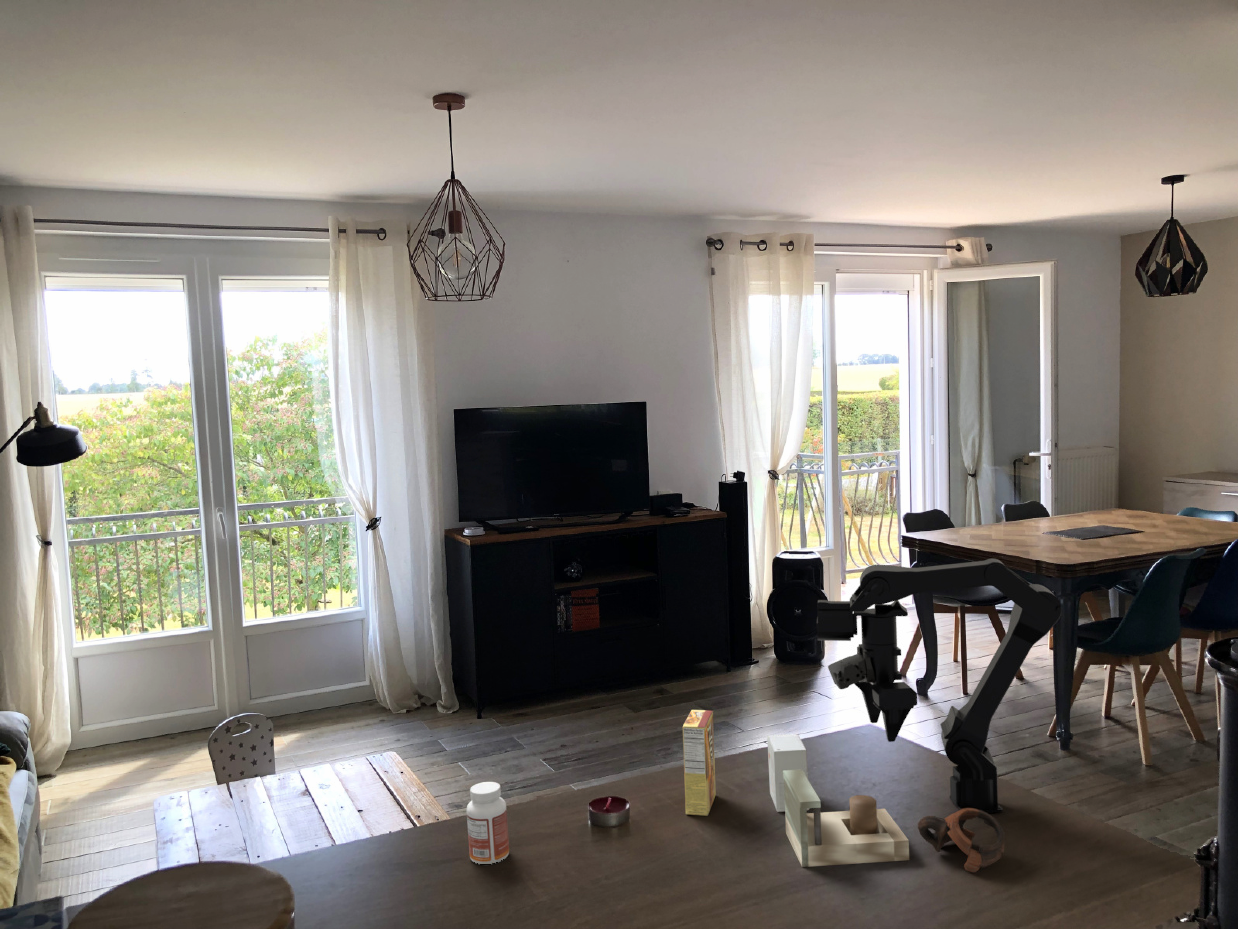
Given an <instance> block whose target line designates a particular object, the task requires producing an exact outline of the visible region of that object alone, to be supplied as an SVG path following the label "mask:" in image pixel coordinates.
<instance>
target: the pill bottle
mask: <svg viewBox="0 0 1238 929" xmlns="http://www.w3.org/2000/svg"><path fill="white" fill-rule="evenodd" d="M469 791H470V792H469V793H470V794H469V795H470V800H471V801H469V803H468V804H467V806H466V821H467V822H466V823H467V824H466V825H467V836H468V853H469V859H470V860H471V861H472V862H473V863H474V862H475V864H477V863H478V865H480V864H491V865H493V864H492V863H495V864H497V863H496V862H498V863H500V862H502V861H504V860H505V859H507V857H508V856H509V854H510V842H509V841H510V840H509V838H510V837H509V826H508V812H507V811H508V810H507V803H506V801H505V800H504V798H503V797H501V794H502V792H501V791H502V790H501V784H500V783H498V782H495V781H483V782H478V783H476V784H474V785H472V786H471V787H470V788H469ZM503 859H504V860H503ZM501 860H502V861H501Z"/></svg>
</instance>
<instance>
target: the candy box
mask: <svg viewBox="0 0 1238 929" xmlns="http://www.w3.org/2000/svg"><path fill="white" fill-rule="evenodd" d="M714 728H715V727H714V710H707V709H706V710H704V709H690V712H689V714H688V716H687V718H686V719H685V721H684V722H683V726H682V745H683V748H682V749H683V771H684V772H683V774H684V776H683V777H684V778H683V779H684V804H685V805H684V808H685V815H687V816H688V815H690V816H691V815H692V816H701V817H702V816H705V817H708V816H709V813H710V811H711V809H712V807H713V803H714V801H715V797H716V773H715V772H716V770H715V769H716V768H715V739H714V738H715V732H714V730H715V729H714Z"/></svg>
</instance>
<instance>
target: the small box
mask: <svg viewBox="0 0 1238 929" xmlns="http://www.w3.org/2000/svg"><path fill="white" fill-rule="evenodd" d="M766 740H767V756H768V757H767V758H768V775H769V776H768V778H769V779H768V780H769V794H770V796H771V799H772V802H773V805H774V807H775V810H776V812H777V813H782V812H785V794H784V777H783V771H785V770H801V769H802V771H803V773H804V774H805V776H806V778H807V779H808V780H809V776H808V775H809V774H808V756H807V755H808V753H807V752H808V751H807V749H806V746H805V744H804V743H803V740H802V739H801V737H800V735H799V734H795V733H794V734H776V735H775V734H774V735H770V734H769V735H767V739H766ZM807 811H810V808H807Z"/></svg>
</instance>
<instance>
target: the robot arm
mask: <svg viewBox="0 0 1238 929" xmlns="http://www.w3.org/2000/svg"><path fill="white" fill-rule="evenodd" d="M982 587H993V588H995V589H996V590H997V591H999V592H1000V593H1001V594H1003V595H1004V596H1005V597H1007V598H1008V599H1009V600H1010V601H1011V602H1013V606H1012V609H1011V613H1010V618H1009V623H1008V627H1007V628H1008V629H1007V631H1006V633H1005V635H1004V637H1003V639H1002V640H1001V642H1000V644H999V646H998V648H997V650H996V651H995V653H994V655H993V657H992V658H991V660H990V662H989V663H988V666H987V667H986V669H985V671H984V673H983V675H981V678H980V680H979V681H978V683H977V685H976V687H975V689H974V691H973V692H972V694H971V696H970V698H969V699H968V701H967V702H966V703H965V705H963V706H962V707H961V708H960V709H958V708H956V707H955V706H953V705H951V706H950V708H949V711H948V714H947V716H946V718H945V720H944V721H942V722H940V729H941V733H940V734H941V741H942V744H943V748H944V752H945V755H946V758H948V760H949V761H950V762H952V764H954V766H952V775H951V776H950V777H949V784H950V795H949V800H950V801H951V802H952V803H953V804H954V805H955V806H956V807H957V808H958V809H959V810H961V809H964V808H974V809H978V810H982V811H984V812H986V813H988V814H989V813H1002V812H1003V807H1002V806H1001V805H1000V804H999V796H998V795H999V792H998V791H999V790H998V768H997V765H996V763H995V760H994V758H993V755H992V753H991V750H990V748H989V747H988V746H987V745H986V743H987V740H988V735H989V730H990V727H991V721H992V719H993V717H994V715H995V714H996V712H997V710H998V708H999V706H1000V704H1001V702H1002V701H1003V699H1004V697H1005V695H1006V694H1007V692H1008V690H1009V689H1010V686H1011V685H1012V683H1013V681H1014V679H1015V678H1016V675H1017V674H1018V672H1019V670H1020V669H1021V667H1022V665H1023V663H1024V662H1025V660H1026V658H1027V657H1028V655H1029V653H1030V652H1031V649H1032V648H1033V647H1034V646H1035V644H1036V643H1038V642H1040V640H1041V639H1043V638H1045V636H1046V635H1047V634H1048V633H1049V632H1050V631H1051V630H1052V628H1053V627H1054V626H1055V625H1056V624H1057V622H1058V621H1059V620H1060V619H1061V616H1062V612H1063V608H1062V604H1061V601H1060V600H1059V598H1058V597H1057V596H1056V595H1055V594H1054V593H1053V592H1052V591H1051V590H1050V589H1049V588H1047V587H1045V586H1044V585H1041V584H1039V583H1035V584H1034V583H1030V582H1028V581H1027V580H1025V579H1024V578H1023V577H1021V576H1020V575H1019V574H1017V573H1016V572H1014V571H1013V570H1011V569H1010V568H1008V567H1007V566H1006V565H1005V564H1004V563H1003V562H1002V561H1001V560H999V559H997V558H988V559H985V560H978V561H971V562H959V563H950V564H949V563H948V564H942V565H941V564H940V565H932V566H921V567H907V566H899V565H889V564H873V565H872V564H871V565H868V566H867V567H866V568H865V569H864V570H863V571H862V572H861V574H860V577H859V586H858V587H857V588H856V590H855V591H854V592H853V593H852V594H851V596H850V597H849V600H846V601H845V600H843V601H842V600H841V601H840V600H837V601H835V600H826V599H818V600H817V617H816V638H817V641H831V642H833V641H836V642H837V641H838V642H847V641H848V642H851V640H852V638H855V636H857V635H858V617H860V622H861V623H860V625H861V626H860V627H861V629H860V630H861V643H860V644H858V646H857V647H856V652H857V653H856V654H853V655H850V656H847V657H844V658H843V659H842V658H841V659H839V660H838V661H835V662H833V663H830V664H828V666H827V669H828V671H829V674H830V675H831V679H832V681H833V683H834V685H836V686H837V688H838V689H839V690H845V689H847V688H849V687H850V686H852V685H855V686H856V687H857V688H858V689H859V691H861V694H862V698H863V700H864V703H865V707H866V711H867V715H868V718H869V721H870V723H872V724H877V723H878V721H879V718H880V715H881V714H882V715H881V716H882V718H883V719H882V720H883V723H884V724H883V725H884V730H885V735H886V740H887V742H889V743H890V742H891V743H893V742H895V741H896V739H897V737H898V735H899V733H900V731H901V729H902V727H903V724H904V723H905V721H906V719H907V717H908V715H909V713H910V712H911V710H912V709H914V707H915V706H917V705H918V693H917V691H916V690H914V689H913V688H912V687H911V686H910V685H908V684H907V683H906V682H905V681H902V680H903V674H902V672H900V671H899V667H898V662H899V661H898V658H899V657H900V656H902V649H901V648H899V646H898V637H897V636H898V631H897V617H908V616H909V612H908V609H907V608H906V607H905V606H903V605H902V604H901V602H900V601H899V600H903V599H905V598H908V597H910V596H912V595H916V594H920V593H921V594H922V593H929V592H930V593H931V592H941V591H950V590H959V589H961V590H962V589H970V588H982ZM889 603H890V604H889ZM872 606H874V607H873V608H870V607H872ZM898 656H899V657H898ZM895 681H897V682H895Z"/></svg>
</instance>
